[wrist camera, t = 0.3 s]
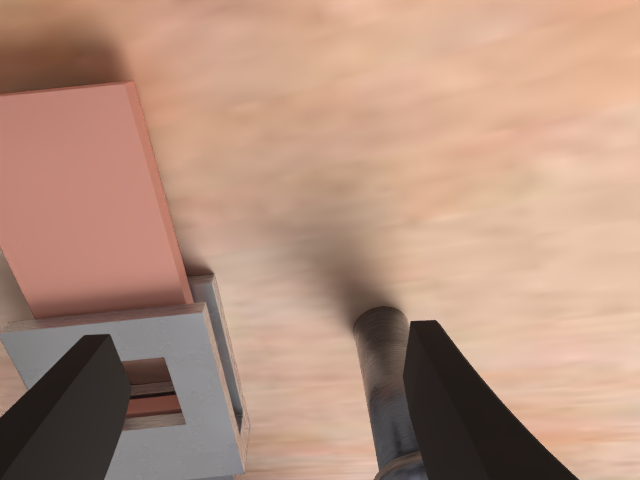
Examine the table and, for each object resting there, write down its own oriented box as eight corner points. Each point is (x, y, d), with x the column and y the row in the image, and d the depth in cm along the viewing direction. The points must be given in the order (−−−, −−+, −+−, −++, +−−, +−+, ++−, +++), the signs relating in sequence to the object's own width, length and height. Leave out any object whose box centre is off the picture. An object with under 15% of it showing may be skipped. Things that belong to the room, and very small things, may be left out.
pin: (387, 365, 25) (433, 542, 17) (333, 338, 24) (353, 512, 16) (429, 320, 24) (502, 488, 16) (374, 289, 23) (420, 452, 14)
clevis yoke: (255, 447, 28) (250, 495, 25) (114, 461, 28) (94, 512, 25) (214, 274, 22) (202, 312, 19) (36, 292, 22) (-3, 333, 19)
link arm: (224, 391, 26) (219, 421, 24) (105, 404, 26) (90, 434, 24) (142, 76, 18) (124, 83, 16) (-31, 94, 18) (-70, 103, 16)
